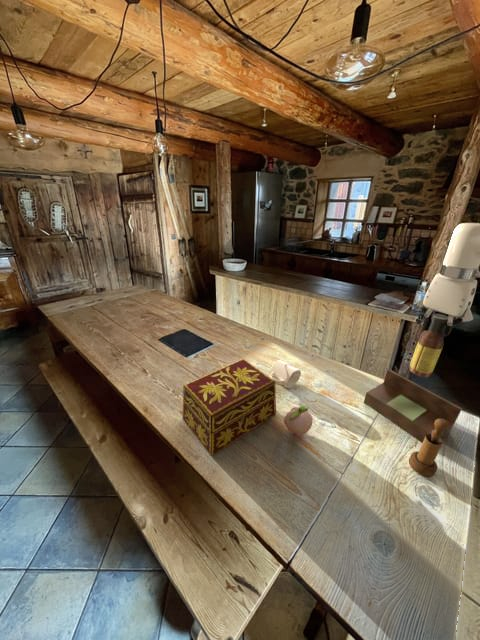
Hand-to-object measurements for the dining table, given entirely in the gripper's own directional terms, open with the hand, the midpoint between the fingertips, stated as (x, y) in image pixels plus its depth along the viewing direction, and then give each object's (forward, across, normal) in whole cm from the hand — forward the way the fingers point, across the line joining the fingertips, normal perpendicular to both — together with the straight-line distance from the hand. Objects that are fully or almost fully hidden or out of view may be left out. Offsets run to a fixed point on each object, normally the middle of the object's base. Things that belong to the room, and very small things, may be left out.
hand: (434, 332), depth 79 cm
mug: (+35, +37, +24) cm, 56 cm away
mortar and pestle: (+35, -13, +13) cm, 40 cm away
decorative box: (+35, +32, +52) cm, 70 cm away
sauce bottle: (+15, 0, 0) cm, 15 cm away
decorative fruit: (+35, +15, +36) cm, 52 cm away
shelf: (+35, 0, -1) cm, 35 cm away
